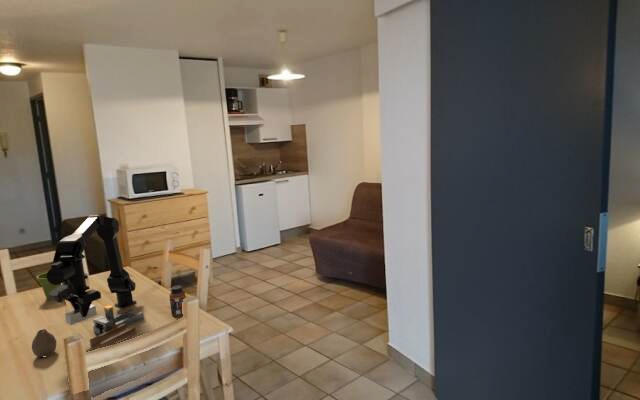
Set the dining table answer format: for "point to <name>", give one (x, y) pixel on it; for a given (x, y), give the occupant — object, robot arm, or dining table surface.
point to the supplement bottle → (176, 300)
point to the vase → (43, 343)
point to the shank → (79, 315)
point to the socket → (117, 320)
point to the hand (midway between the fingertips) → (81, 316)
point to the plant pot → (46, 285)
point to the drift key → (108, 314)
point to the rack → (112, 336)
